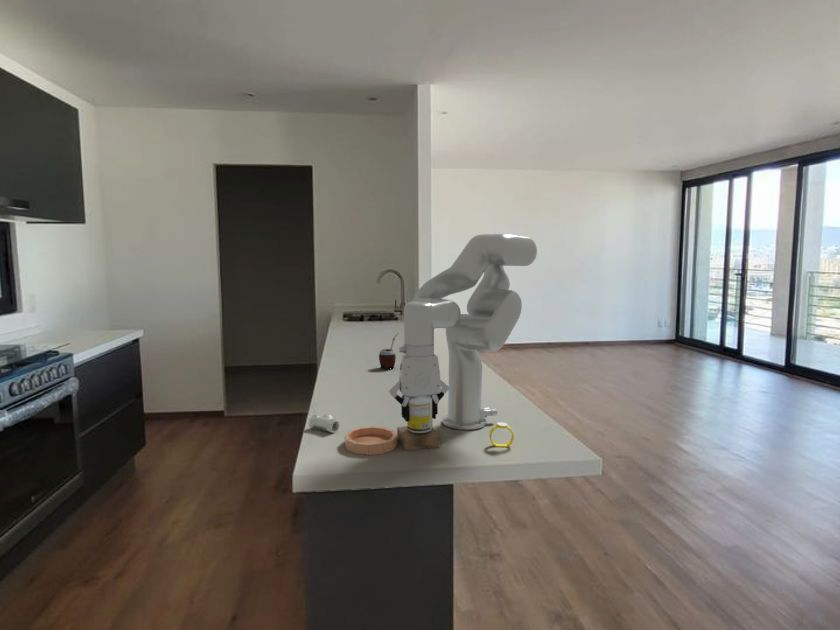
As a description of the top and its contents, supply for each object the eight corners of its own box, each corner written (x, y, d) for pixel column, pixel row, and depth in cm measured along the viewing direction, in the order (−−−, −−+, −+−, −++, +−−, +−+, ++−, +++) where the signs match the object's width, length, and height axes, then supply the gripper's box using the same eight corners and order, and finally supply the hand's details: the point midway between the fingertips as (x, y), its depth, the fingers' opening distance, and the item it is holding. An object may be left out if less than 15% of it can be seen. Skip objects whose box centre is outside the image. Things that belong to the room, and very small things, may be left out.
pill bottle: (420, 423, 136) (419, 381, 134) (437, 429, 131) (437, 385, 129) (402, 429, 131) (401, 386, 130) (419, 436, 126) (419, 391, 125)
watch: (511, 445, 130) (514, 423, 130) (513, 449, 128) (515, 427, 127) (488, 443, 131) (490, 421, 130) (489, 447, 128) (491, 424, 127)
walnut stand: (429, 435, 137) (429, 424, 136) (439, 447, 128) (439, 435, 128) (397, 438, 134) (397, 427, 134) (405, 450, 126) (405, 438, 125)
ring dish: (390, 433, 137) (390, 424, 137) (401, 451, 125) (401, 441, 125) (342, 438, 134) (342, 428, 134) (348, 456, 121) (348, 446, 121)
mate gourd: (376, 370, 214) (376, 334, 212) (382, 366, 221) (382, 332, 219) (394, 370, 212) (394, 335, 210) (398, 366, 220) (398, 332, 218)
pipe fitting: (325, 424, 146) (308, 429, 140) (325, 411, 146) (309, 415, 140) (347, 429, 142) (331, 435, 136) (347, 416, 142) (331, 420, 136)
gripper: (388, 355, 123) (389, 426, 125) (456, 351, 127) (456, 420, 129) (382, 349, 130) (383, 417, 132) (446, 345, 134) (446, 411, 137)
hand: (419, 418), depth 131 cm, fingers closed on pill bottle, 6 cm apart
